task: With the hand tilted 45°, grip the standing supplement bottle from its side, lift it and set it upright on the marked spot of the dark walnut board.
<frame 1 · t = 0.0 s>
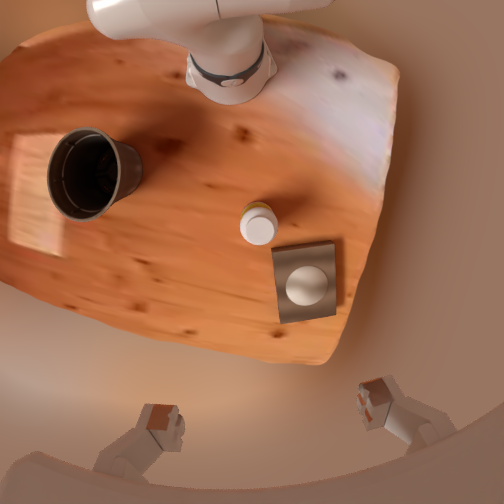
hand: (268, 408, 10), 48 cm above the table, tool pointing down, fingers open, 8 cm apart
walnut board: (304, 280, 61), on the table
plant pot: (119, 171, 53), on the table
supplement bottle: (257, 217, 57), on the table
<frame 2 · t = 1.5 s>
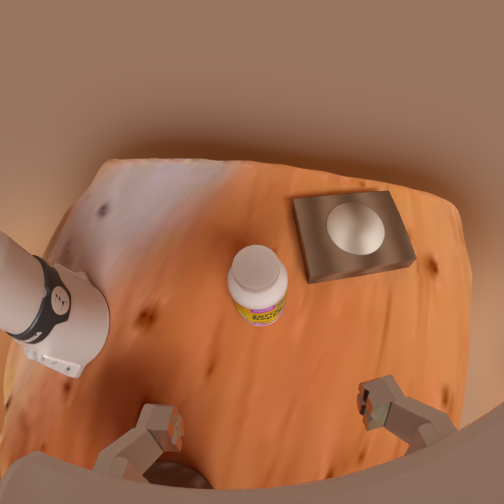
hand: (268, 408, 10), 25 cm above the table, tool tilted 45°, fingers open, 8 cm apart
walnut board: (351, 237, 42), on the table
plant pot: (176, 493, 25), on the table
supplement bottle: (261, 304, 38), on the table
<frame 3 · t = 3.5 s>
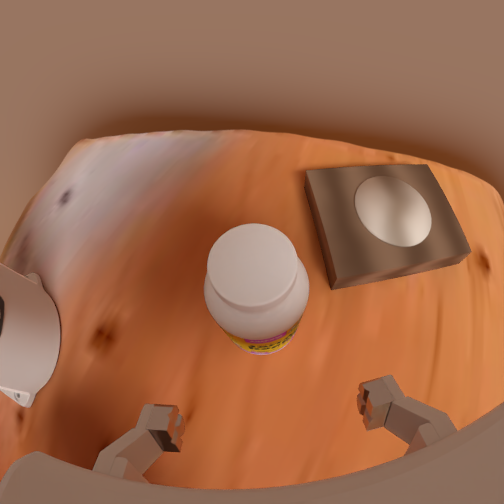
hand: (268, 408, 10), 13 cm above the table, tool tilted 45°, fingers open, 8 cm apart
walnut board: (386, 224, 29), on the table
supplement bottle: (262, 321, 25), on the table
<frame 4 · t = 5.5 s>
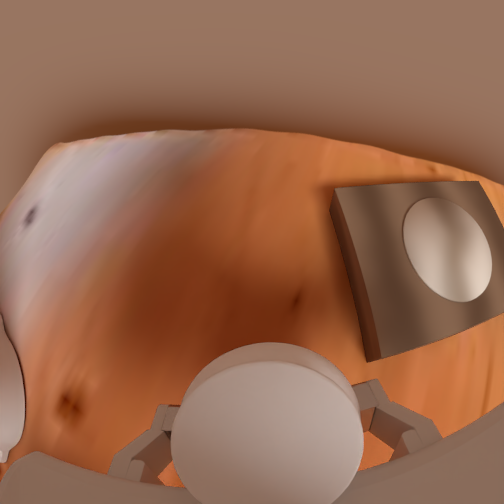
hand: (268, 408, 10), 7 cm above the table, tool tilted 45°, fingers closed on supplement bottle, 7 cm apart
walnut board: (435, 262, 20), on the table
supplement bottle: (272, 408, 16), on the table, touching gripper
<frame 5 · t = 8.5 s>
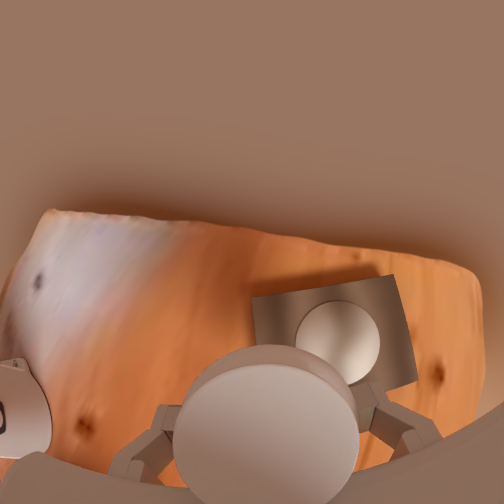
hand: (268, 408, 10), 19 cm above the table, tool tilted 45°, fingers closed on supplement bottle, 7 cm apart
walnut board: (333, 347, 29), on the table
supplement bottle: (272, 408, 17), point 12 cm above the table, touching gripper
when the fingers open (12 cm above the table, at t = 11.3 s): supplement bottle drops 1 cm, resting on walnut board.
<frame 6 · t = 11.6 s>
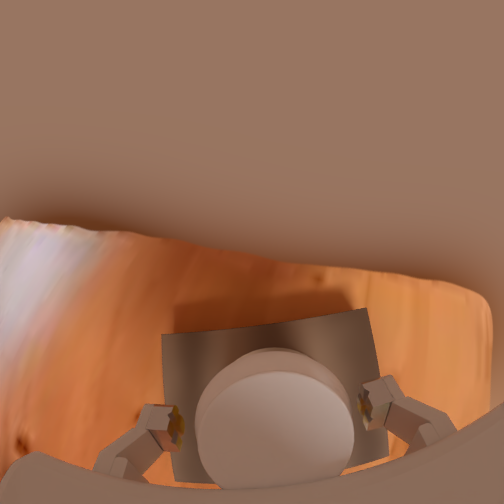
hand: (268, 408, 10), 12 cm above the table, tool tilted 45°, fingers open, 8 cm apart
walnut board: (274, 403, 21), on the table
supplement bottle: (272, 406, 18), point 3 cm above the table, touching walnut board
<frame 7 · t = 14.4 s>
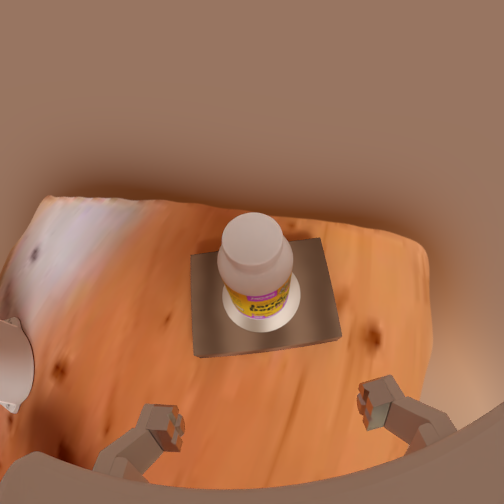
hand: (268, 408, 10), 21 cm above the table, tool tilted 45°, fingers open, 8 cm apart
walnut board: (262, 301, 35), on the table
supplement bottle: (260, 294, 32), point 3 cm above the table, touching walnut board
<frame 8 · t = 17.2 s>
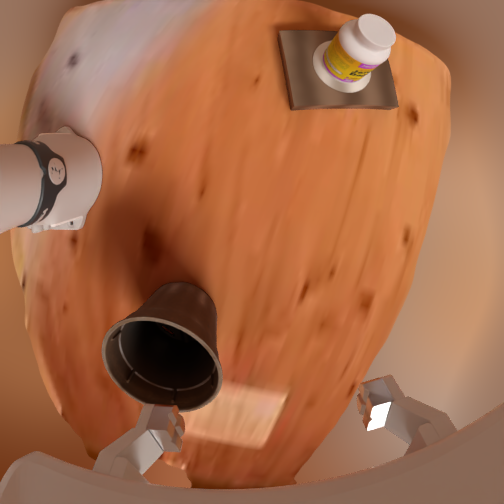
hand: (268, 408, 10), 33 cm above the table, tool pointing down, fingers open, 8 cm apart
walnut board: (336, 71, 35), on the table
plant pot: (183, 311, 46), on the table
supplement bottle: (342, 65, 32), point 3 cm above the table, touching walnut board
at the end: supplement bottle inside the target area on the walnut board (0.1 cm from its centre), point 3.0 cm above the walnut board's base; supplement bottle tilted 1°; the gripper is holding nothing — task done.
